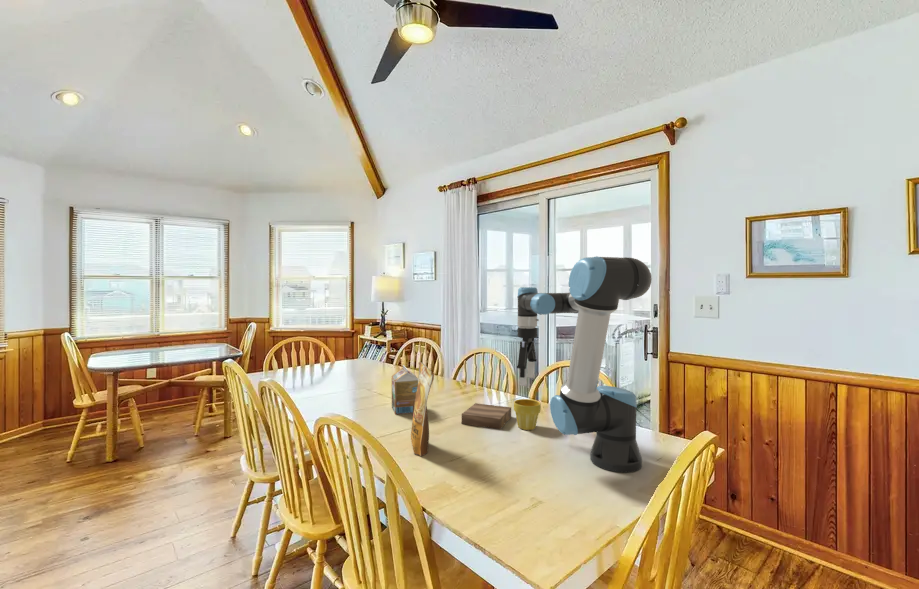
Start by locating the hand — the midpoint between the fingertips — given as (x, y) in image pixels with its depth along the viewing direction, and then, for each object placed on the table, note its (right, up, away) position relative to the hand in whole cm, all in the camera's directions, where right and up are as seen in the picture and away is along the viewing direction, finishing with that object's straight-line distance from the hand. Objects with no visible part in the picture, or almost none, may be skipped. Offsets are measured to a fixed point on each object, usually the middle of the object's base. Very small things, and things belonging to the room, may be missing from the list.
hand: (527, 381), depth 163 cm
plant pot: (0, -18, 0) cm, 18 cm away
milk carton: (-50, -17, +23) cm, 58 cm away
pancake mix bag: (-39, -19, -19) cm, 48 cm away
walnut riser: (-15, -18, +9) cm, 25 cm away
